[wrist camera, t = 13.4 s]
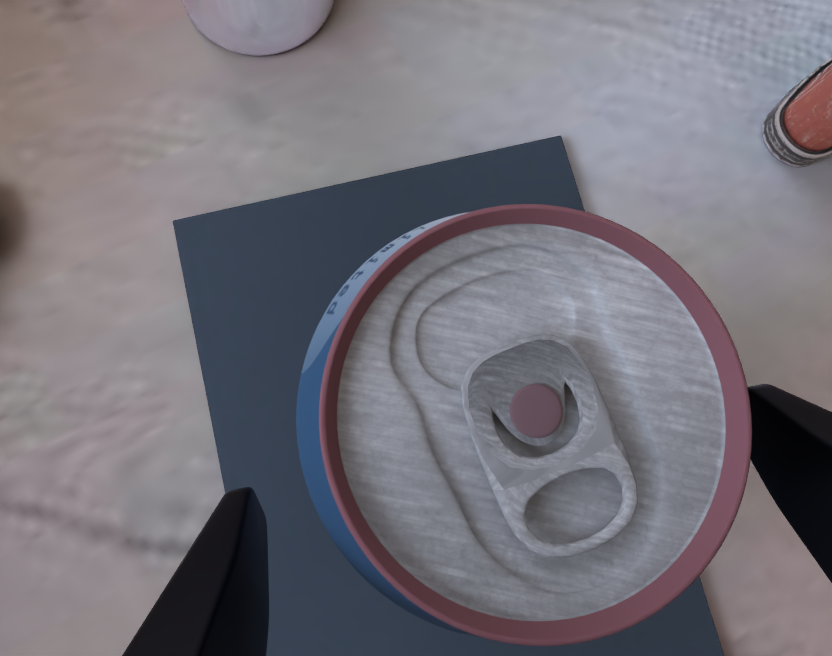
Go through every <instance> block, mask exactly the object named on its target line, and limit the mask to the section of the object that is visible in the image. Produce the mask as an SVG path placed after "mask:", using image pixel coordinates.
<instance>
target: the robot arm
mask: <svg viewBox="0 0 832 656" xmlns="http://www.w3.org/2000/svg"><path fill="white" fill-rule="evenodd" d="M747 389H748V394H749V400H750V408H751V420H752V448H751V458H750V459H751V461H752V463H753V465H754V466H755V468H756V470H757V472H758V473H759V475H760V477H761V479H762V480H763V482H764V484H765V486H766V487H767V489H768V491H769V493H770V494H771V496H772V498H773V499H774V501H775V503H776V504H777V506H778V507H779V509H780V510H781V512H782V513H783V515H784V516H785V518H786V519H787V520H788V522H789V523H790V525H791V526H792V527H793V529H794V530H795V532H796V533H797V535H798V536H799V537H800V539H801V540H802V542H803V543H804V544H805V546H806V547H807V549H808V550H809V552H810V553H811V554H812V556H813V557H814V559H815V560H816V561H817V563H818V564H819V566H820V567H821V568H822V570H823V571H824V573H825V574H826V576H827V577H828V578H829V580H830V581H831V583H832V412H830V411H828V410H826V409H823V408H821V407H819V406H817V405H815V404H812V403H810V402H808V401H806V400H803V399H801V398H799V397H797V396H795V395H792V394H790V393H788V392H786V391H783V390H781V389H779V388H777V387H775V386H772V385H769V384H761V385H756V386H751V387H747ZM268 629H269V575H268V540H267V521H266V517H265V514H264V511H263V509H262V507H261V505H260V502H259V500H258V498H257V496H256V494H255V492H254V490H253V489H252V488H251V487H243V488H238V489H233V490H230V491H228V492H227V493H226V494H225V495H224V496H223V498H222V499H221V501H220V502H219V504H218V506H217V507H216V509H215V510H214V512H213V513H212V515H211V517H210V518H209V520H208V521H207V523H206V524H205V526H204V528H203V529H202V531H201V532H200V534H199V535H198V537H197V539H196V540H195V542H194V543H193V545H192V547H191V548H190V550H189V551H188V553H187V554H186V556H185V558H184V559H183V561H182V562H181V564H180V565H179V567H178V569H177V570H176V572H175V573H174V575H173V576H172V578H171V580H170V581H169V583H168V584H167V586H166V588H165V589H164V591H163V592H162V594H161V595H160V597H159V599H158V600H157V602H156V603H155V605H154V606H153V608H152V610H151V611H150V613H149V614H148V616H147V617H146V619H145V621H144V622H143V624H142V625H141V627H140V628H139V630H138V632H137V633H136V635H135V636H134V638H133V640H132V641H131V643H130V644H129V646H128V647H127V649H126V651H125V652H124V654H123V655H122V656H266V653H267V641H268Z"/></svg>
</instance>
